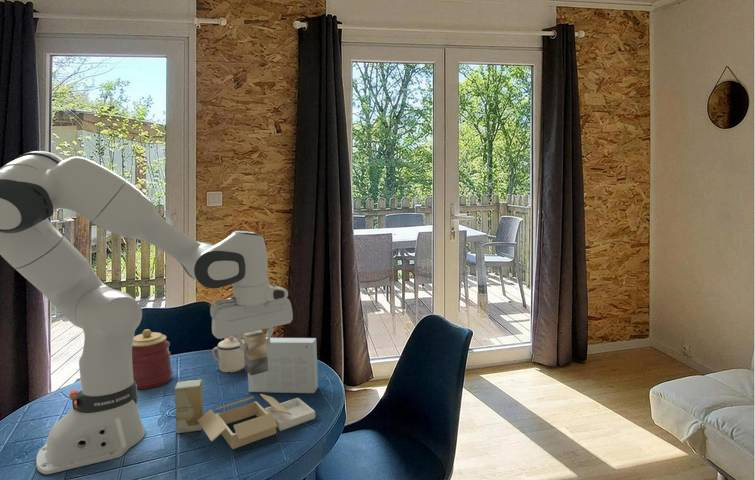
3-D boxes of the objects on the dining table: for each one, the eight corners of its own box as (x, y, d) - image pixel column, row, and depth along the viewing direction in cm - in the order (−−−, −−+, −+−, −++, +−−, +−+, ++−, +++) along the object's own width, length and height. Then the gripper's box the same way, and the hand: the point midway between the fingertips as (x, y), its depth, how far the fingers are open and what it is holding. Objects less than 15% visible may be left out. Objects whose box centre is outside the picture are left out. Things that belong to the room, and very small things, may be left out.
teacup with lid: (250, 363, 159) (249, 332, 158) (237, 374, 150) (235, 340, 149) (220, 361, 162) (218, 330, 160) (205, 371, 153) (203, 339, 151)
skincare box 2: (318, 386, 140) (317, 337, 138) (314, 394, 134) (312, 343, 133) (254, 384, 142) (251, 336, 140) (247, 392, 137) (245, 342, 135)
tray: (280, 430, 114) (279, 423, 114) (264, 415, 122) (264, 408, 122) (315, 418, 120) (315, 411, 120) (298, 404, 128) (298, 397, 128)
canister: (155, 391, 138) (150, 336, 136) (118, 389, 140) (113, 335, 138) (180, 374, 151) (177, 324, 149) (146, 372, 153) (142, 322, 151)
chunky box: (251, 375, 112) (248, 337, 110) (245, 369, 115) (242, 332, 114) (268, 370, 114) (266, 333, 113) (261, 365, 118) (259, 329, 116)
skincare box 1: (176, 434, 113) (172, 388, 112) (179, 425, 117) (175, 381, 116) (203, 430, 115) (200, 385, 114) (204, 421, 119) (202, 378, 118)
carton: (216, 462, 101) (214, 439, 101) (194, 427, 116) (193, 407, 116) (297, 431, 113) (296, 411, 113) (268, 404, 128) (267, 386, 128)
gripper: (212, 304, 103) (217, 361, 105) (293, 289, 115) (296, 341, 117) (205, 299, 108) (210, 353, 110) (283, 285, 120) (286, 334, 122)
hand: (255, 346), depth 114 cm, fingers closed on chunky box, 4 cm apart
